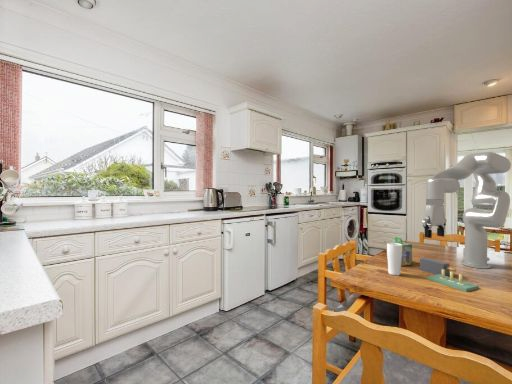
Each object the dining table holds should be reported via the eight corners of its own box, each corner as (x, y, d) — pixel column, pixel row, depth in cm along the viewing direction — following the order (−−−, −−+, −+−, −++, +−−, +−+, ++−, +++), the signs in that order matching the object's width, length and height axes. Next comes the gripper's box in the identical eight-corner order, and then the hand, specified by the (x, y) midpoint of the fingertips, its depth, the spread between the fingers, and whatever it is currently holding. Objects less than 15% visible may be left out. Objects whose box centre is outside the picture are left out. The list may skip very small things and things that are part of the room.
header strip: (439, 276, 125) (439, 265, 125) (478, 288, 111) (478, 276, 111) (427, 279, 122) (427, 268, 122) (465, 291, 107) (466, 279, 107)
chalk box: (412, 265, 144) (412, 238, 144) (398, 266, 142) (399, 239, 141) (399, 260, 153) (399, 235, 153) (386, 261, 151) (386, 236, 150)
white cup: (400, 272, 131) (400, 243, 131) (403, 277, 124) (403, 245, 124) (385, 271, 133) (386, 242, 133) (387, 275, 127) (388, 244, 126)
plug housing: (425, 268, 138) (425, 257, 138) (458, 278, 124) (458, 265, 123) (419, 269, 136) (419, 258, 136) (452, 279, 122) (452, 266, 122)
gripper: (438, 202, 138) (437, 234, 138) (416, 202, 131) (415, 236, 131) (453, 203, 131) (453, 237, 131) (431, 203, 124) (430, 239, 124)
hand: (434, 236), depth 131 cm, fingers open, 9 cm apart
